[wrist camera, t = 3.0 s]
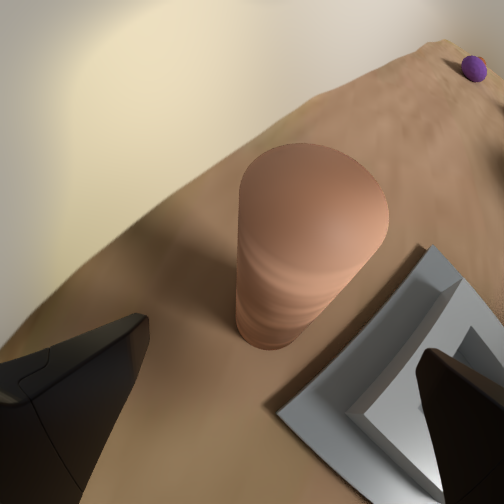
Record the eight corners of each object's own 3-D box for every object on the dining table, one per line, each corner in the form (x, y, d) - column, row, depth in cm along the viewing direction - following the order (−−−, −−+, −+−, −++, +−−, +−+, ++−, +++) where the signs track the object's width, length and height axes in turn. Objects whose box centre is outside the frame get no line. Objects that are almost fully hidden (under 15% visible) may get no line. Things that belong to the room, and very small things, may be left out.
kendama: (494, 64, 46) (491, 72, 37) (482, 78, 51) (475, 89, 42) (477, 47, 46) (469, 50, 38) (466, 61, 52) (454, 68, 43)
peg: (316, 319, 20) (412, 210, 9) (266, 364, 19) (321, 304, 7) (271, 273, 22) (312, 126, 10) (221, 313, 20) (206, 186, 9)
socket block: (529, 378, 18) (558, 370, 14) (423, 542, 12) (450, 556, 8) (427, 249, 23) (451, 225, 20) (275, 412, 17) (285, 416, 14)
